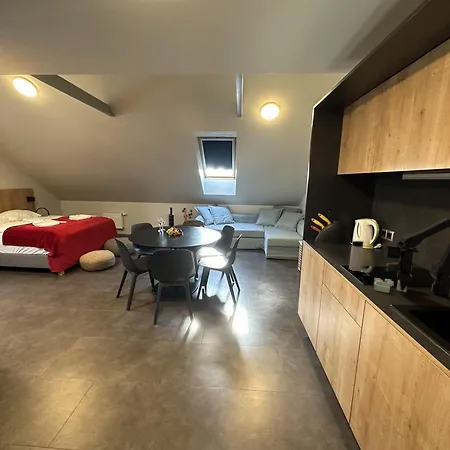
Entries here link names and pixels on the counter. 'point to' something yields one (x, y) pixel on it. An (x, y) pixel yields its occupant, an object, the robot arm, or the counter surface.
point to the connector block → (400, 287)
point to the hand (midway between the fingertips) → (401, 287)
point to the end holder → (382, 286)
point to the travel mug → (356, 255)
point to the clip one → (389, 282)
